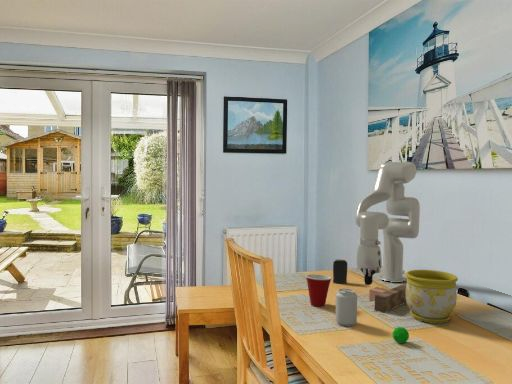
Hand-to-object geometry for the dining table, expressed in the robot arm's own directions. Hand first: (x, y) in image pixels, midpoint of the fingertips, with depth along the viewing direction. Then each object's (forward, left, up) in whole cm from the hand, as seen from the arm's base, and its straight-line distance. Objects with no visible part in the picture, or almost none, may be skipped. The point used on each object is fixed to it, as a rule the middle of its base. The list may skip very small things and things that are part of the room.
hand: (368, 284), depth 191 cm
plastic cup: (+25, -9, -6) cm, 27 cm away
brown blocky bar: (+1, +13, -6) cm, 14 cm away
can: (+36, +11, -6) cm, 38 cm away
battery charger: (-13, -23, -6) cm, 27 cm away
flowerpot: (+8, +30, -6) cm, 32 cm away
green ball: (+39, +33, -6) cm, 51 cm away
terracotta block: (+2, +7, -6) cm, 9 cm away
